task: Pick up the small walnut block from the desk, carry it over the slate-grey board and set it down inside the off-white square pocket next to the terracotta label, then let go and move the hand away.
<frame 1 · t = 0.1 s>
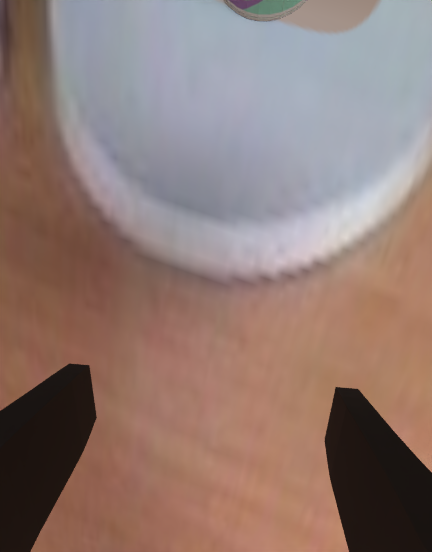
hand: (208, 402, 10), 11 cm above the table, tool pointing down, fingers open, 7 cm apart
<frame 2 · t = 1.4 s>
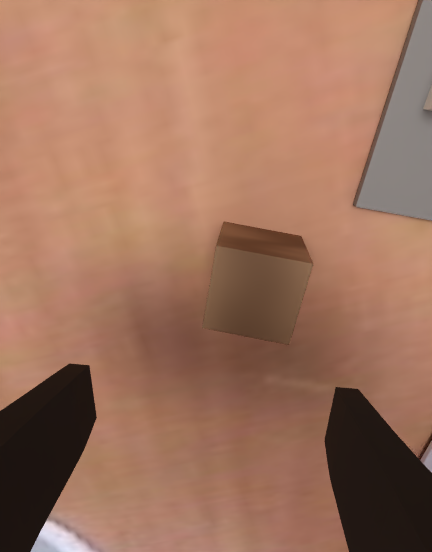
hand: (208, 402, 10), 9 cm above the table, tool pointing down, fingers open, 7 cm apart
walnut block: (254, 264, 19), on the table
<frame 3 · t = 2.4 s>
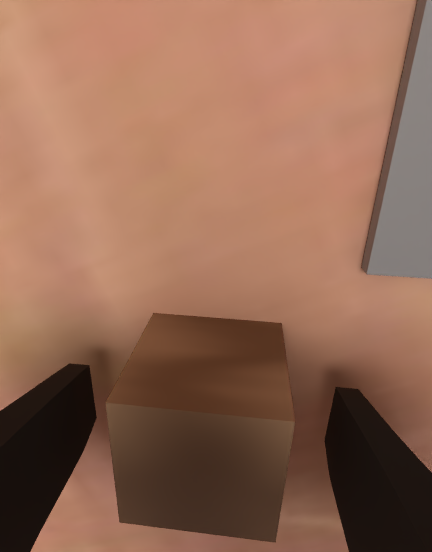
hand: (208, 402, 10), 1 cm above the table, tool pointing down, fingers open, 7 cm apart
walnut block: (214, 368, 12), on the table
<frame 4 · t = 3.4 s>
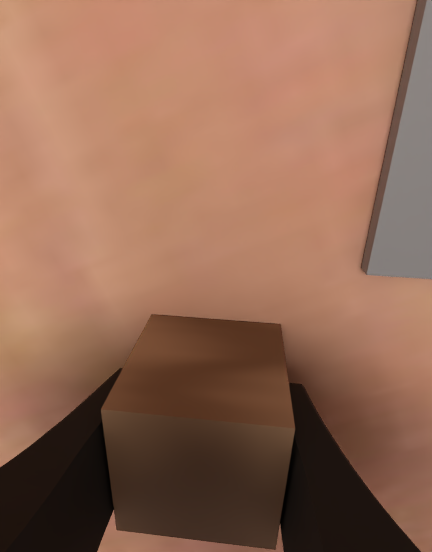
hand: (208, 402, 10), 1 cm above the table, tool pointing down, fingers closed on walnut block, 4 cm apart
walnut block: (213, 371, 12), on the table, touching gripper
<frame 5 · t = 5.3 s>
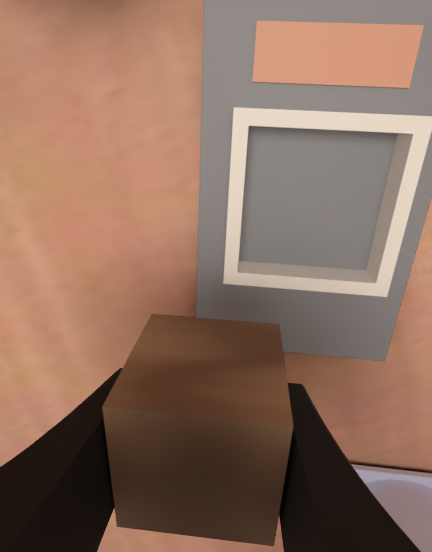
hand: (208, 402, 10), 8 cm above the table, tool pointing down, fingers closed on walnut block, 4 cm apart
pocket board: (309, 200, 16), on the table
walnut block: (212, 370, 12), point 7 cm above the table, touching gripper
when the fingers open (3 cm above the table, at t = 7.5 s): walnut block stays where it is, resting on pocket board.
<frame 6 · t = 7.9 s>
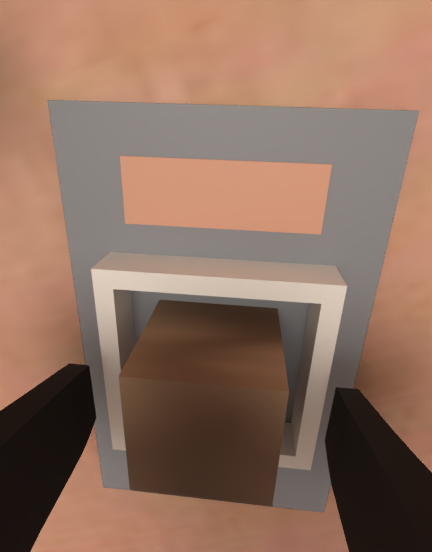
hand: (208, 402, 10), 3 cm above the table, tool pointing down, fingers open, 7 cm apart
pocket board: (217, 344, 13), on the table
walnut block: (215, 353, 13), resting on pocket board
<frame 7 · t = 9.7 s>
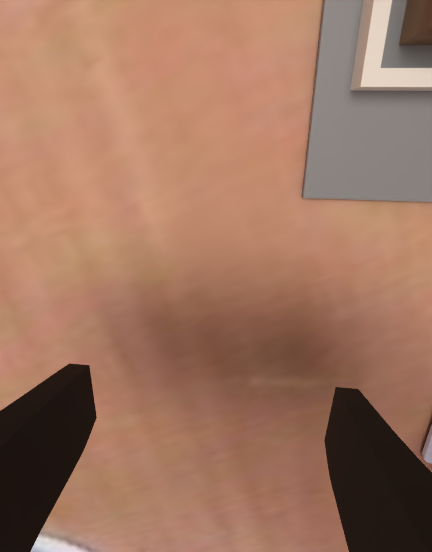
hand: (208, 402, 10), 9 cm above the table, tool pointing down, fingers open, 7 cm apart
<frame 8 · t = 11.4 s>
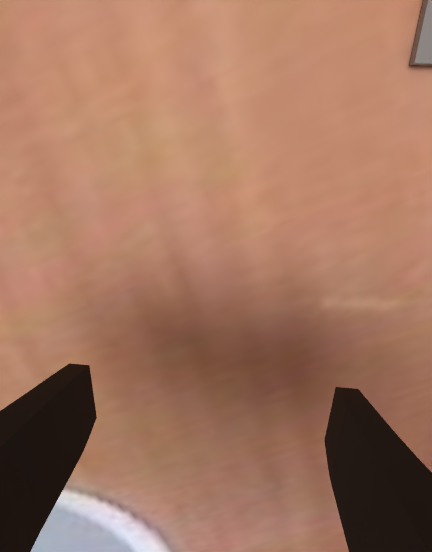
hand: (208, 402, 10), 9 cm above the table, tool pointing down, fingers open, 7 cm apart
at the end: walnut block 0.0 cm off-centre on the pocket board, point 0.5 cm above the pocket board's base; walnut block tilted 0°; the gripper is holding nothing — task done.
